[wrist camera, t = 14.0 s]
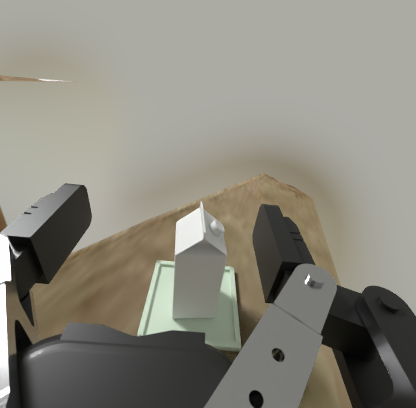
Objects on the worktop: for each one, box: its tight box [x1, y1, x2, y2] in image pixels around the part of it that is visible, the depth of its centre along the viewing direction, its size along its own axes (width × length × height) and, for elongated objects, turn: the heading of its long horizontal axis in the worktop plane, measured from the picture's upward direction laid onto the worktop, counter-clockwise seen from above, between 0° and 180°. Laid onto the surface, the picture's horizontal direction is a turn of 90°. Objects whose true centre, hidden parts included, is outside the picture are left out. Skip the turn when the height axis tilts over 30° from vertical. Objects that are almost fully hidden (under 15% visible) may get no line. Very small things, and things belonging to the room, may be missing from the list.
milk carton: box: [172, 202, 227, 319], centre depth 37 cm, size 7×7×19 cm
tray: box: [137, 260, 241, 352], centre depth 43 cm, size 16×16×1 cm
